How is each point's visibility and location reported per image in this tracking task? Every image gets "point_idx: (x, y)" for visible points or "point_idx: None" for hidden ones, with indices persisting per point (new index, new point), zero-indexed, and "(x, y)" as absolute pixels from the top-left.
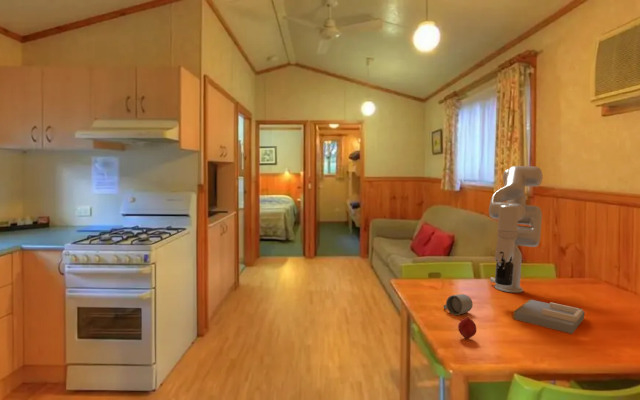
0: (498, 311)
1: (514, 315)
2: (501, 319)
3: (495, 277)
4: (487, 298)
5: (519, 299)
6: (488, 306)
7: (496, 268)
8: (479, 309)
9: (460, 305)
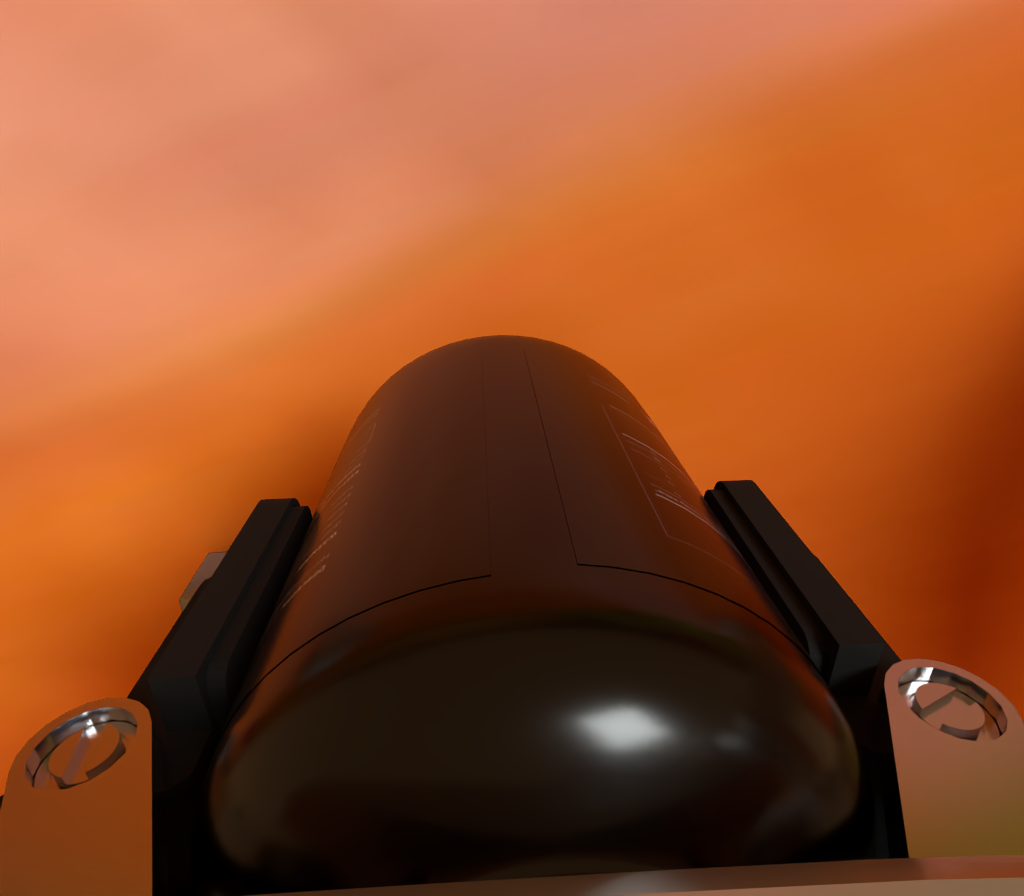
0: (288, 385)
1: (198, 580)
2: (79, 494)
3: (395, 396)
4: (696, 75)
5: (911, 381)
6: (360, 234)
7: (327, 548)
8: (140, 202)
9: None
